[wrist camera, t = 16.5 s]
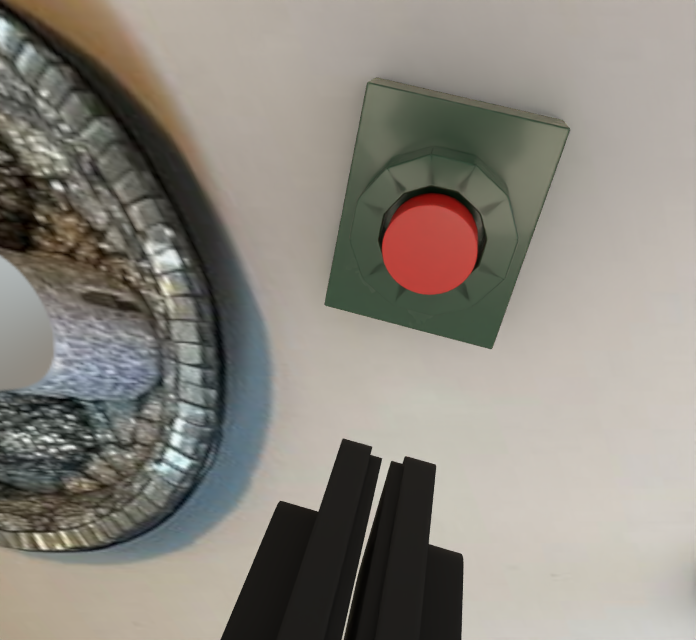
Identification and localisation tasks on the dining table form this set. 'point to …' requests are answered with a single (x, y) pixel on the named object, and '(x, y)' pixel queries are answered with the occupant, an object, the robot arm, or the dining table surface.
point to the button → (430, 244)
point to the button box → (450, 179)
